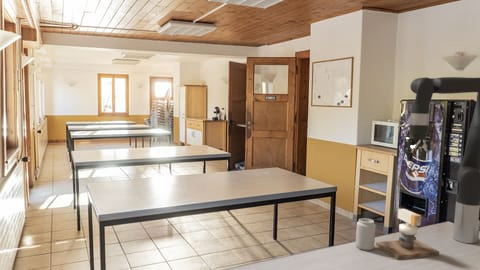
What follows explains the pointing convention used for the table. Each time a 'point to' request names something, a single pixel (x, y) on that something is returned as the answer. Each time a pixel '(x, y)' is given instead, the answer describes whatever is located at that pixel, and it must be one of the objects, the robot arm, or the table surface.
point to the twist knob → (409, 222)
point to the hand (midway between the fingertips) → (416, 160)
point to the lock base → (406, 252)
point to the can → (365, 234)
